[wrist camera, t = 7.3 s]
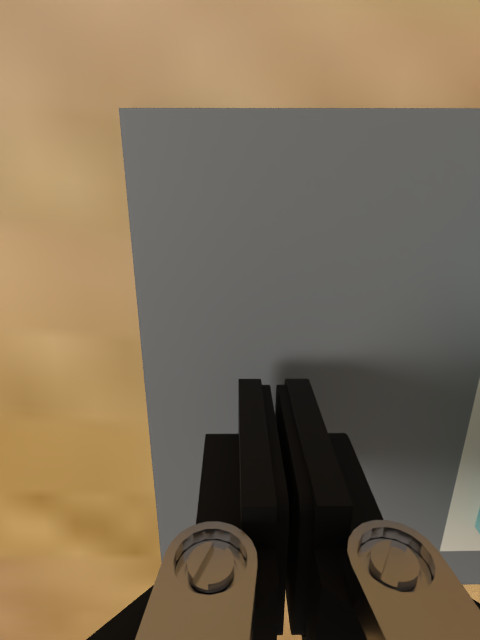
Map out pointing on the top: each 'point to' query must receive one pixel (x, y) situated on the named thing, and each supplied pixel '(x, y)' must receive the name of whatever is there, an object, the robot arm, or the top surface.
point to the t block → (478, 522)
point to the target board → (315, 294)
